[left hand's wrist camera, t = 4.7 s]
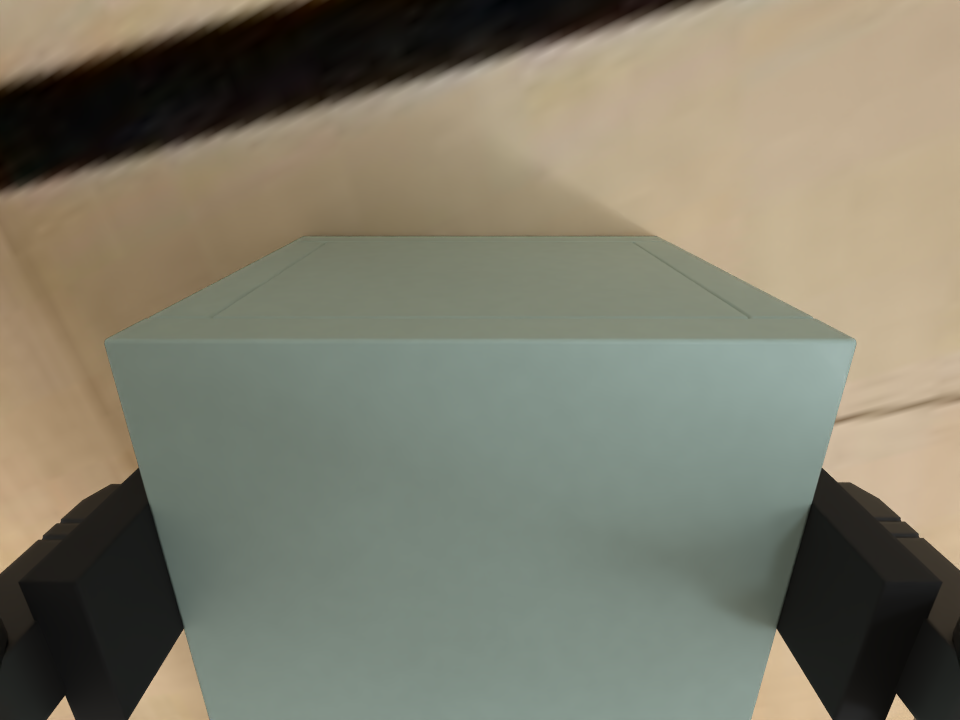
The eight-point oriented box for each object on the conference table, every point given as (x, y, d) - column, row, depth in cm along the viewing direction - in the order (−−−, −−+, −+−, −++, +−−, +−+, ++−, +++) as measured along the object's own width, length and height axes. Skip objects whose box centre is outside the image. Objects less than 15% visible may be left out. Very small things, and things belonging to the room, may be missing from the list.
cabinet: (597, 727, 24) (661, 1042, 16) (362, 727, 24) (298, 1043, 16) (658, 235, 16) (860, 339, 7) (301, 235, 16) (99, 339, 7)
